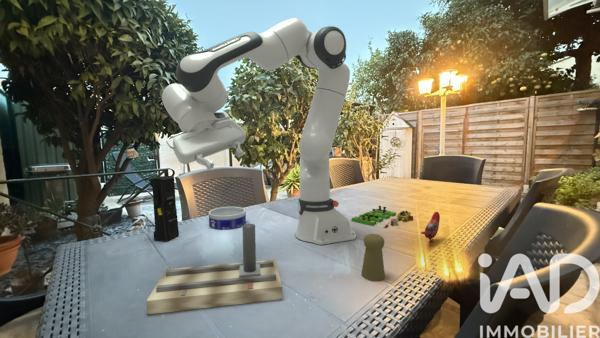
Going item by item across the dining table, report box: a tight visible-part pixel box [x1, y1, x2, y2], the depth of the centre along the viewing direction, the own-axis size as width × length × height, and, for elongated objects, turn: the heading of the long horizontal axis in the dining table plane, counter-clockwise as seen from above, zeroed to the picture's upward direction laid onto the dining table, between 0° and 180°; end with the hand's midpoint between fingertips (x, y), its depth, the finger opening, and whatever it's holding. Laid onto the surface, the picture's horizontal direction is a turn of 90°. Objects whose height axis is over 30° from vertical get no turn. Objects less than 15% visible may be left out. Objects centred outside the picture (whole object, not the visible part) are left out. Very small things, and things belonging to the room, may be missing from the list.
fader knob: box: [239, 223, 261, 278], centre depth 65 cm, size 5×5×12 cm
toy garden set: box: [350, 205, 414, 229], centre depth 121 cm, size 23×19×5 cm
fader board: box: [145, 259, 283, 315], centre depth 65 cm, size 28×14×4 cm, turn 101°
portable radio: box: [149, 169, 180, 242], centre depth 97 cm, size 8×6×25 cm
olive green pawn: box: [360, 233, 386, 282], centre depth 71 cm, size 6×6×11 cm
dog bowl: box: [208, 206, 247, 231], centre depth 115 cm, size 15×15×6 cm
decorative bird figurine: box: [420, 211, 441, 244], centre depth 93 cm, size 3×18×10 cm, turn 137°
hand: (226, 161), depth 73 cm, fingers open, 8 cm apart
